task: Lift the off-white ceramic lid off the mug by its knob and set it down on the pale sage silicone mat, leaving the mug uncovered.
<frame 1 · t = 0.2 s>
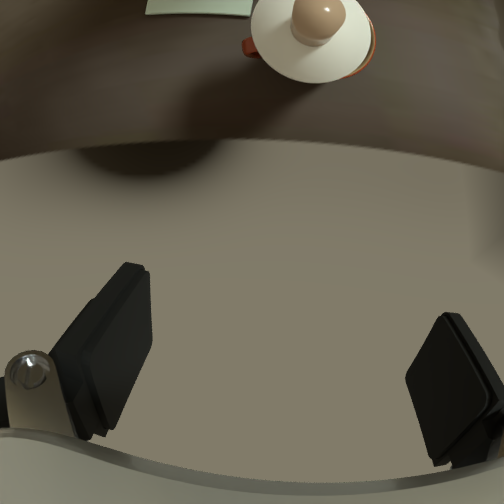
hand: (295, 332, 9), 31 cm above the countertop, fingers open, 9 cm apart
lid: (311, 30, 21), point 10 cm above the countertop, touching mug
mug: (300, 53, 31), on the countertop, touching lid
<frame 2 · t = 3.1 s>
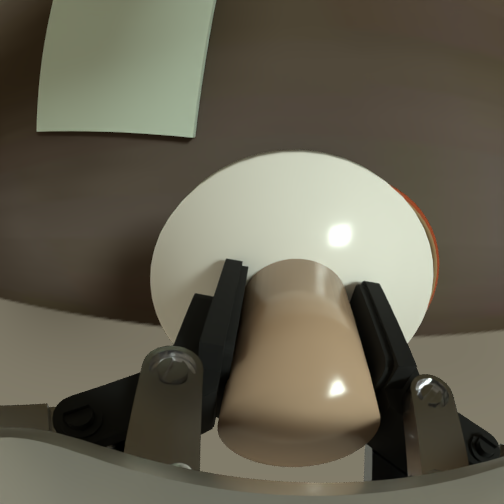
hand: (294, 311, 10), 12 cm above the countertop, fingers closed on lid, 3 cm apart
lid: (293, 290, 11), point 10 cm above the countertop, touching gripper
mat: (117, 41, 16), on the countertop
mug: (285, 208, 21), on the countertop
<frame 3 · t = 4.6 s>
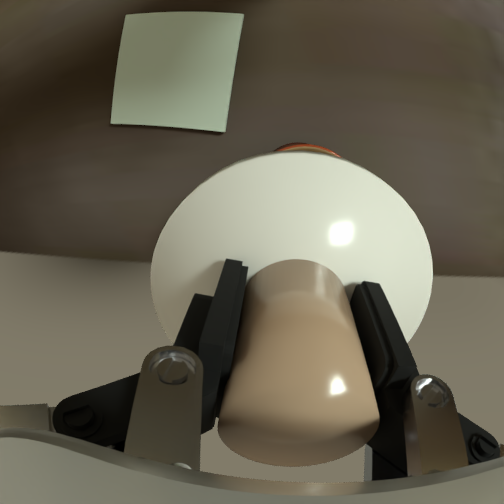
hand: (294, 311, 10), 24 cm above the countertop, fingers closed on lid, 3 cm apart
lid: (293, 290, 11), point 23 cm above the countertop, touching gripper
mat: (173, 67, 28), on the countertop
mug: (281, 177, 33), on the countertop
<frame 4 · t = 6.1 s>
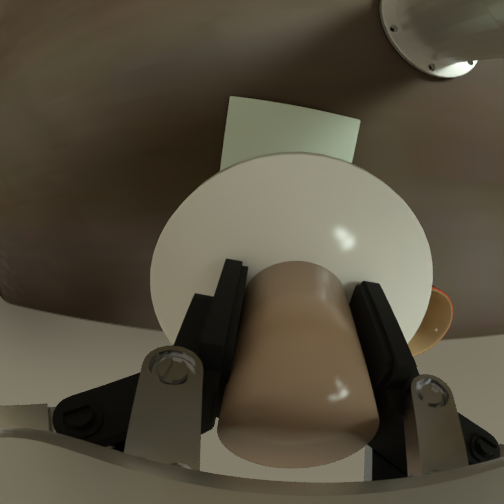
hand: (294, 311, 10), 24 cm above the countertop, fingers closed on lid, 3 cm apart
lid: (293, 292, 11), point 23 cm above the countertop, touching gripper
mat: (285, 167, 32), on the countertop
mug: (374, 274, 36), on the countertop
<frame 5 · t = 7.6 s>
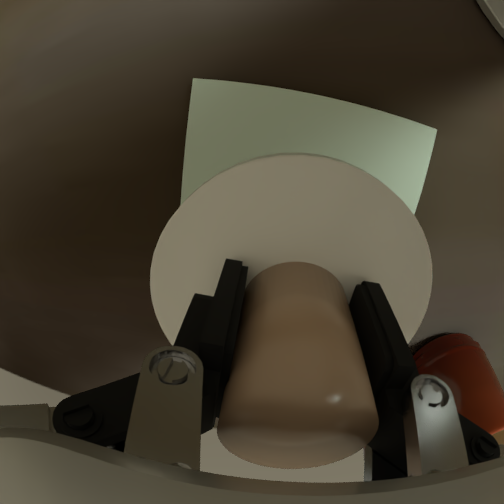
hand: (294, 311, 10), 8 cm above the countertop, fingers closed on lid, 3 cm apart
lid: (293, 292, 11), point 7 cm above the countertop, touching gripper
mat: (298, 212, 17), on the countertop
mug: (420, 361, 22), on the countertop
when the fingers open (3 cm above the countertop, at t = 9.0 s): lid drops 1 cm, resting on mat.
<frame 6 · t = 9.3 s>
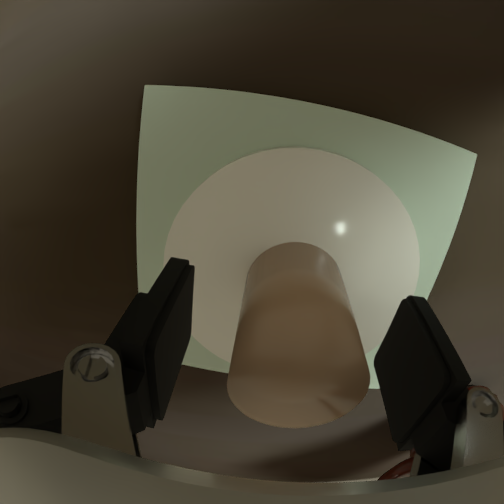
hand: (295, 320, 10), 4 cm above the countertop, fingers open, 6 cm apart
lid: (293, 272, 13), point 1 cm above the countertop, touching mat
mat: (291, 265, 13), on the countertop
mug: (430, 414, 18), on the countertop
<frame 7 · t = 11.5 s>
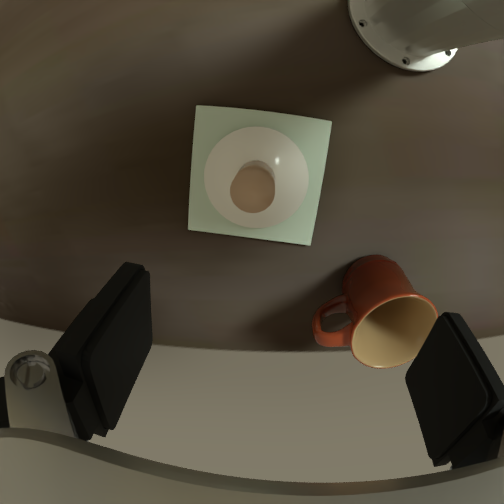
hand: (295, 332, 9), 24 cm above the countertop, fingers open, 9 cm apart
lid: (256, 176, 30), point 1 cm above the countertop, touching mat
mat: (256, 175, 31), on the countertop
mug: (356, 280, 35), on the countertop
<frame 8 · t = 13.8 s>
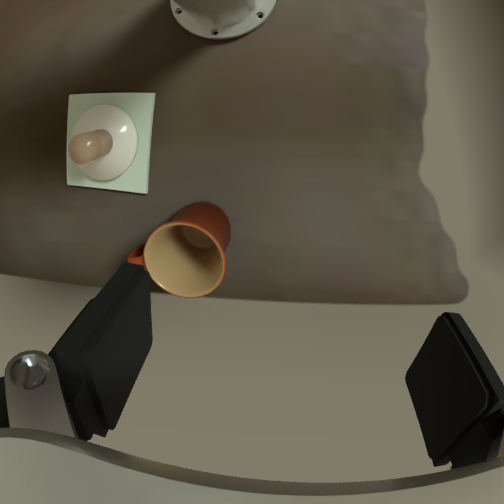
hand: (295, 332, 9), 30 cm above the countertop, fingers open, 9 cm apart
lid: (104, 141, 36), point 1 cm above the countertop, touching mat
mat: (106, 140, 37), on the countertop
mug: (192, 226, 41), on the countertop
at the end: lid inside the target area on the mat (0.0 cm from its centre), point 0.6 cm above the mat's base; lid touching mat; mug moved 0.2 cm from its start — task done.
